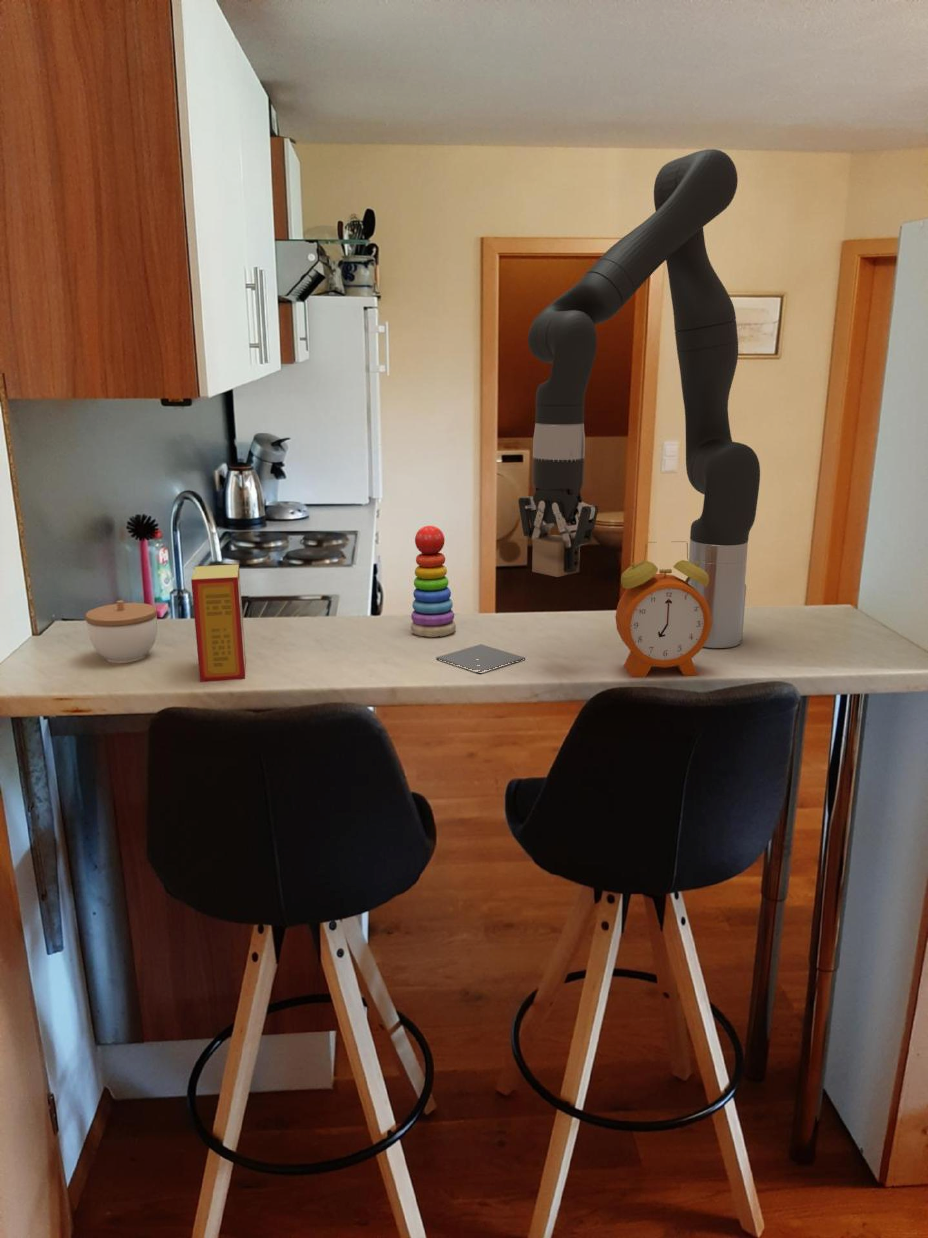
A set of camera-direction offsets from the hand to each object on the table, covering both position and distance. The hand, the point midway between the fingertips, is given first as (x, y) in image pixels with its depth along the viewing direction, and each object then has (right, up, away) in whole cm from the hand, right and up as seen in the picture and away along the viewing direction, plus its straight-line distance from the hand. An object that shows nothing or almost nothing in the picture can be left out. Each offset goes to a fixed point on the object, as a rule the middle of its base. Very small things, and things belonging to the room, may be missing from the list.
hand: (555, 568), depth 141 cm
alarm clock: (+16, -16, +2) cm, 23 cm away
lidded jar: (-68, -14, +10) cm, 71 cm away
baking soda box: (-51, -16, +4) cm, 53 cm away
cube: (0, 0, 0) cm, 0 cm away
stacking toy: (-19, -10, +23) cm, 32 cm away
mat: (-11, -14, +8) cm, 20 cm away
